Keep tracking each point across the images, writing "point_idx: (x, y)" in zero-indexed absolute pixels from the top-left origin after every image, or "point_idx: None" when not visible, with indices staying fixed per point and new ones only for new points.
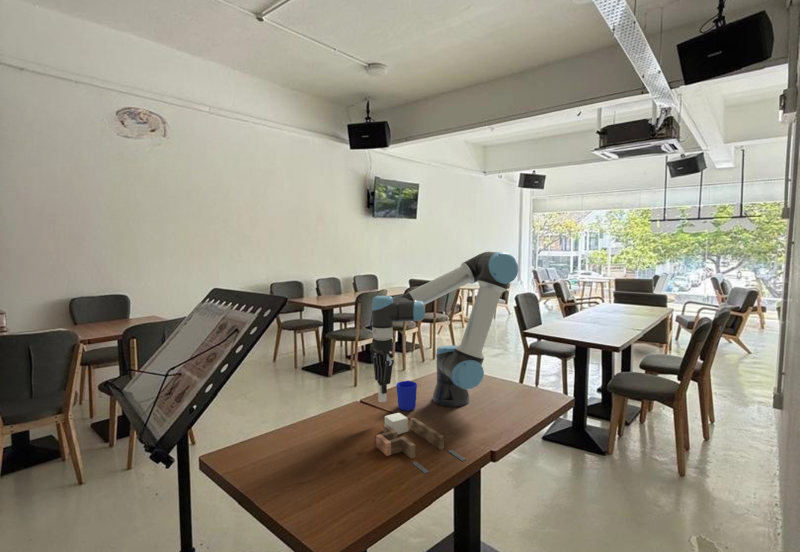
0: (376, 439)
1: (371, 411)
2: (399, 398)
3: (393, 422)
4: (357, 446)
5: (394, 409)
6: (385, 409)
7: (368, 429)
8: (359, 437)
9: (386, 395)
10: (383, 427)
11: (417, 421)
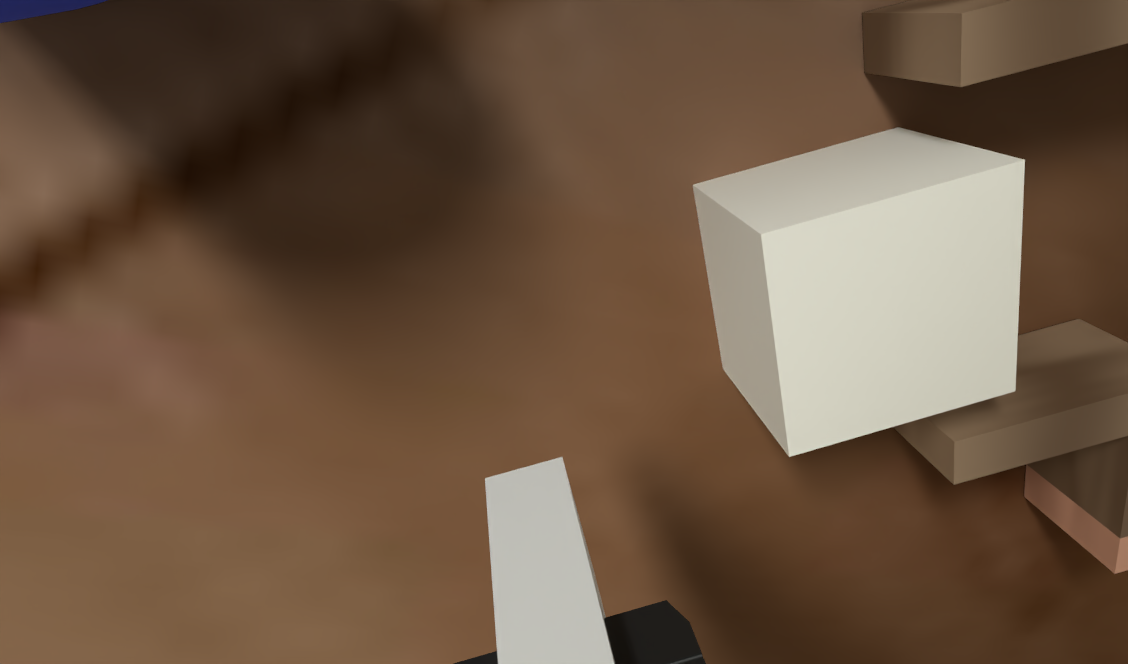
0: (1082, 543)
1: (116, 425)
2: (31, 13)
3: (1009, 381)
4: (925, 619)
5: (66, 83)
6: (52, 227)
7: (652, 516)
8: (781, 597)
9: (579, 534)
10: (944, 469)
11: (1118, 14)
